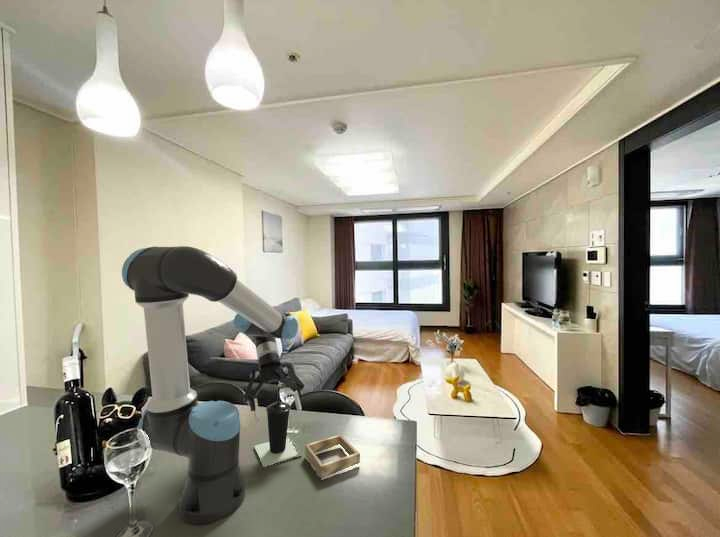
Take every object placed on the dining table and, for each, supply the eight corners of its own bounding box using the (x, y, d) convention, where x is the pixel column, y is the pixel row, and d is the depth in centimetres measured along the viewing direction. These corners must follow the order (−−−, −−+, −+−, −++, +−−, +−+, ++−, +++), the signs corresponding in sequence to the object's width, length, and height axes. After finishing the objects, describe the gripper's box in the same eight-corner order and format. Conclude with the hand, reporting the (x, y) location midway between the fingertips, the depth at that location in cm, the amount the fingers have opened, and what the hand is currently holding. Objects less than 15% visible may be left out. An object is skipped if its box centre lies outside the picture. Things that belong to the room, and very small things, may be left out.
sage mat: (262, 468, 91) (263, 465, 91) (254, 448, 101) (254, 445, 101) (301, 456, 97) (301, 453, 97) (289, 438, 107) (289, 436, 108)
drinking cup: (286, 456, 95) (286, 392, 96) (261, 456, 96) (262, 391, 96) (292, 443, 103) (293, 383, 103) (270, 442, 103) (271, 383, 104)
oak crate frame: (321, 481, 86) (321, 466, 86) (304, 457, 97) (305, 444, 97) (359, 467, 92) (359, 453, 92) (340, 446, 103) (340, 434, 103)
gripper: (298, 358, 121) (312, 411, 108) (230, 367, 108) (236, 429, 95) (303, 347, 116) (318, 402, 103) (233, 356, 103) (240, 419, 90)
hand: (279, 415), depth 99 cm, fingers open, 13 cm apart
